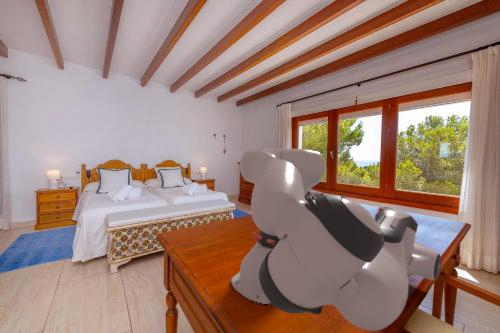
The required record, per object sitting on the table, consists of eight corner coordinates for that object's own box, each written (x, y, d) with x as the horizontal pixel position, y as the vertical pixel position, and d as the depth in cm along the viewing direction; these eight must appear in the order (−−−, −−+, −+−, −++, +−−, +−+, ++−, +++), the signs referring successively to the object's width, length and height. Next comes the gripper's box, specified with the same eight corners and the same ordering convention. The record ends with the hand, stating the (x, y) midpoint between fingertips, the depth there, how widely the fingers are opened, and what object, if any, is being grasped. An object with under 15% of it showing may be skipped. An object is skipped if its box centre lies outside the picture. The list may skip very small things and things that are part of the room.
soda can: (396, 233, 103) (397, 209, 103) (386, 234, 101) (387, 210, 100) (382, 228, 110) (383, 206, 109) (373, 230, 107) (374, 206, 107)
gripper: (359, 260, 66) (324, 243, 78) (396, 248, 75) (360, 235, 87) (359, 240, 65) (325, 227, 78) (397, 231, 75) (361, 220, 87)
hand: (344, 231), depth 82 cm, fingers open, 8 cm apart
